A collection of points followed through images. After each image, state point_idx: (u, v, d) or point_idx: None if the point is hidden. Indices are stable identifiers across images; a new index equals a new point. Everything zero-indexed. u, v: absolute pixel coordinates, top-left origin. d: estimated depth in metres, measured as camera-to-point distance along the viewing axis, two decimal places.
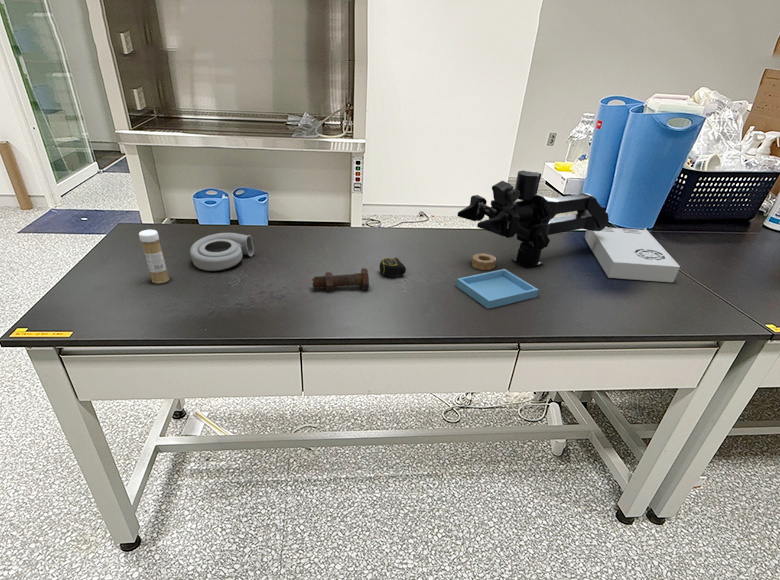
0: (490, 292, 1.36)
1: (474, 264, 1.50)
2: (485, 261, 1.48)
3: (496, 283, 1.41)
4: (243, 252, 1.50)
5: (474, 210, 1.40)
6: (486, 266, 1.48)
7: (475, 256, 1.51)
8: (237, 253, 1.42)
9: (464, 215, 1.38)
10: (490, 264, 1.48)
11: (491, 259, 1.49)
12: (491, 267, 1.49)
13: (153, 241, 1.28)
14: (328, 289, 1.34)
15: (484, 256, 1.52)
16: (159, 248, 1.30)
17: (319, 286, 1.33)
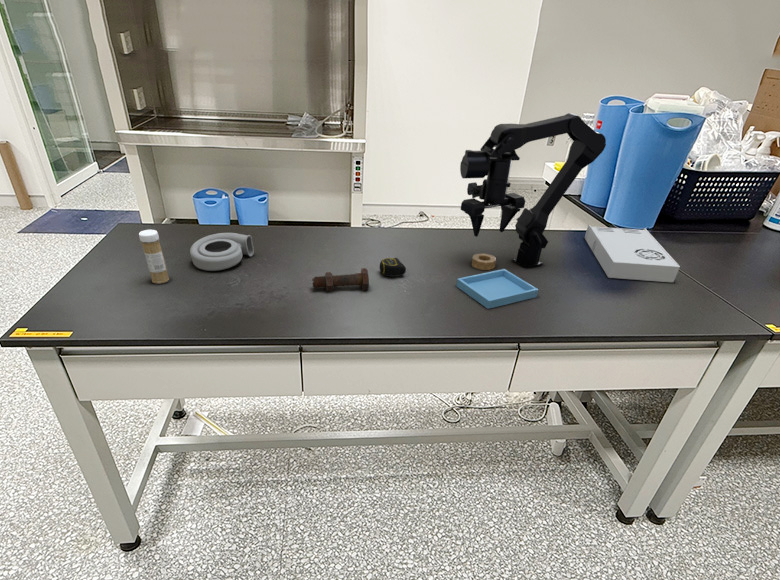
0: (490, 292, 1.36)
1: (474, 264, 1.50)
2: (485, 261, 1.48)
3: (496, 283, 1.41)
4: (243, 252, 1.50)
5: (505, 211, 1.44)
6: (486, 266, 1.48)
7: (475, 256, 1.51)
8: (237, 253, 1.42)
9: (503, 224, 1.45)
10: (490, 264, 1.48)
11: (491, 259, 1.49)
12: (491, 267, 1.49)
13: (153, 241, 1.28)
14: (328, 289, 1.34)
15: (484, 256, 1.52)
16: (159, 248, 1.30)
17: (319, 286, 1.33)
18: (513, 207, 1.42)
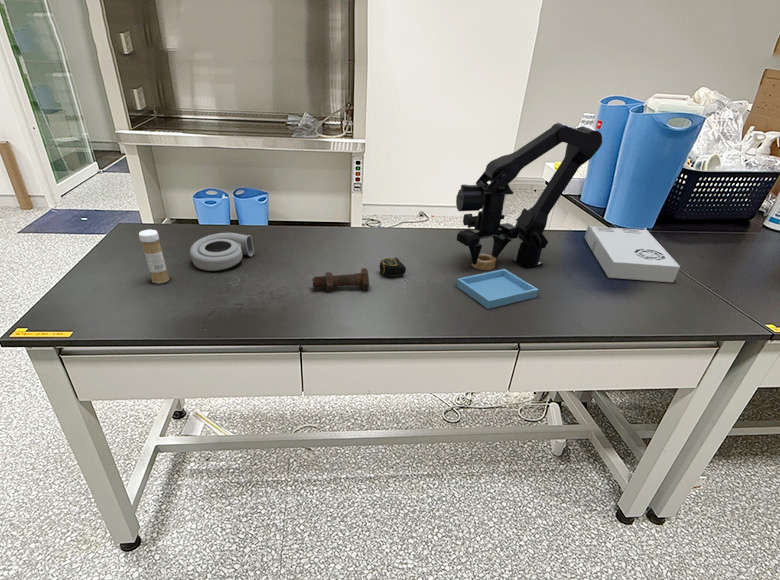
0: (490, 292, 1.36)
1: None
2: (485, 261, 1.48)
3: (496, 283, 1.41)
4: (243, 252, 1.50)
5: (496, 241, 1.49)
6: (486, 266, 1.48)
7: None
8: (237, 253, 1.42)
9: (494, 254, 1.50)
10: (490, 264, 1.48)
11: (491, 259, 1.49)
12: (491, 267, 1.49)
13: (153, 241, 1.28)
14: (328, 289, 1.34)
15: (484, 256, 1.52)
16: (159, 248, 1.30)
17: (319, 286, 1.33)
18: (504, 237, 1.47)
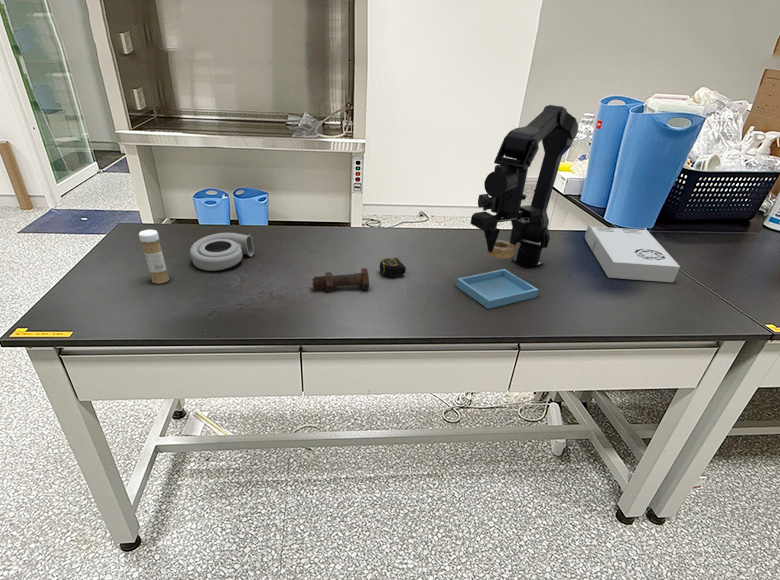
0: (490, 292, 1.36)
1: None
2: (502, 248, 1.30)
3: (496, 283, 1.41)
4: (243, 252, 1.50)
5: (515, 225, 1.31)
6: (504, 254, 1.30)
7: None
8: (237, 253, 1.42)
9: (513, 240, 1.32)
10: (508, 252, 1.30)
11: (509, 246, 1.31)
12: (509, 255, 1.31)
13: (153, 241, 1.28)
14: (328, 289, 1.34)
15: (501, 243, 1.34)
16: (159, 248, 1.30)
17: (319, 286, 1.33)
18: (525, 221, 1.29)
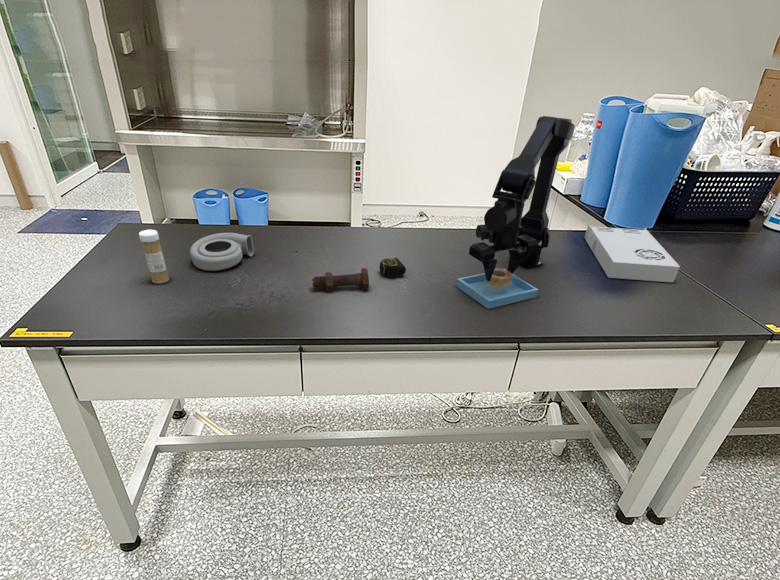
0: (490, 292, 1.36)
1: (488, 281, 1.34)
2: (500, 277, 1.32)
3: None
4: (243, 252, 1.50)
5: (513, 255, 1.33)
6: (501, 283, 1.33)
7: None
8: (237, 253, 1.42)
9: (511, 269, 1.35)
10: (506, 281, 1.32)
11: (507, 275, 1.34)
12: (507, 284, 1.33)
13: (153, 241, 1.28)
14: (328, 289, 1.34)
15: (499, 271, 1.36)
16: (159, 248, 1.30)
17: (319, 286, 1.33)
18: (522, 251, 1.32)
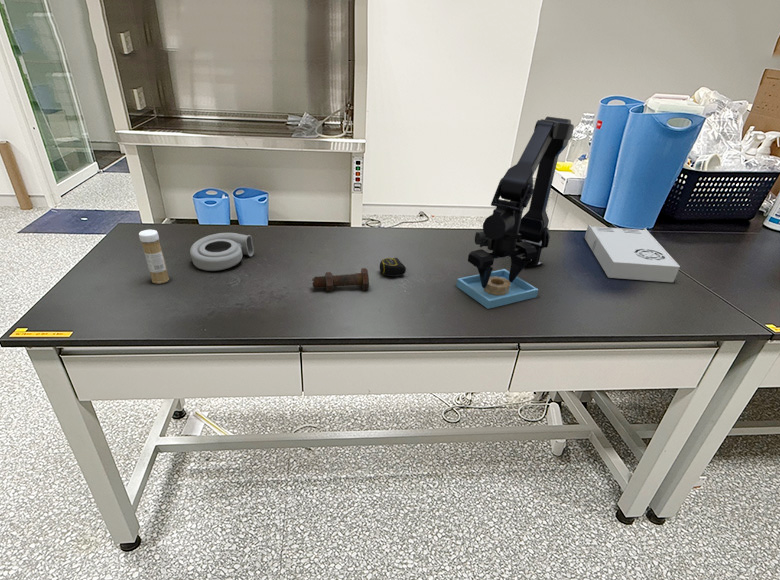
0: None
1: (486, 289, 1.36)
2: (499, 286, 1.34)
3: None
4: (243, 252, 1.50)
5: (515, 261, 1.35)
6: (500, 291, 1.34)
7: None
8: (237, 253, 1.42)
9: (512, 275, 1.36)
10: (504, 289, 1.34)
11: (505, 283, 1.35)
12: (505, 292, 1.35)
13: (153, 241, 1.28)
14: (328, 289, 1.34)
15: (497, 279, 1.38)
16: (159, 248, 1.30)
17: (319, 286, 1.33)
18: (523, 257, 1.33)
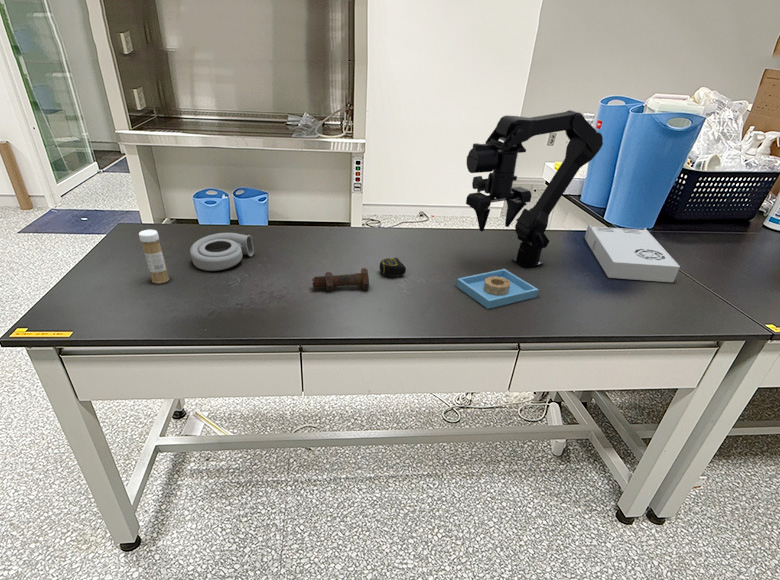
0: None
1: (486, 289, 1.36)
2: (499, 286, 1.34)
3: None
4: (243, 252, 1.50)
5: (511, 205, 1.41)
6: (500, 291, 1.34)
7: (487, 279, 1.37)
8: (237, 253, 1.42)
9: (509, 219, 1.43)
10: (504, 289, 1.34)
11: (505, 283, 1.35)
12: (505, 292, 1.35)
13: (153, 241, 1.28)
14: (328, 289, 1.34)
15: (497, 279, 1.38)
16: (159, 248, 1.30)
17: (319, 286, 1.33)
18: (519, 201, 1.39)
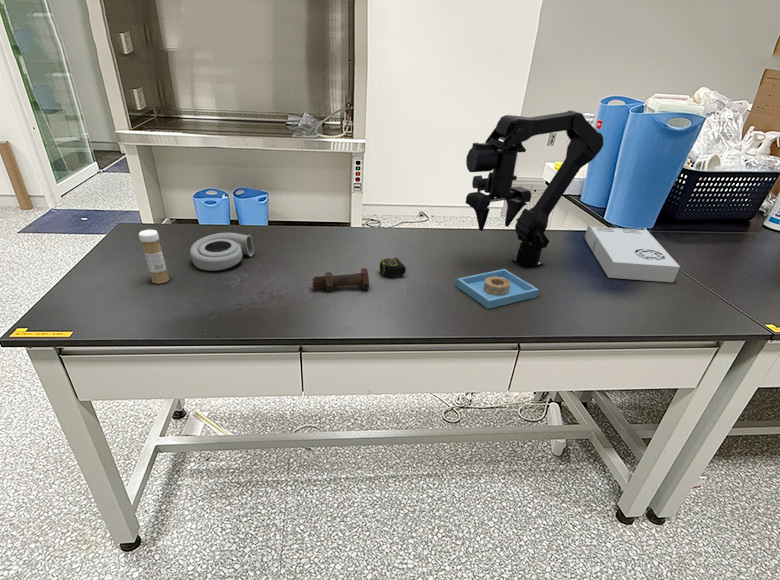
0: None
1: (486, 289, 1.36)
2: (499, 286, 1.34)
3: None
4: (243, 252, 1.50)
5: (510, 205, 1.41)
6: (500, 291, 1.34)
7: (487, 279, 1.37)
8: (237, 253, 1.42)
9: (508, 219, 1.43)
10: (504, 289, 1.34)
11: (505, 283, 1.35)
12: (505, 292, 1.35)
13: (153, 241, 1.28)
14: (328, 289, 1.34)
15: (497, 279, 1.38)
16: (159, 248, 1.30)
17: (319, 286, 1.33)
18: (519, 201, 1.40)
